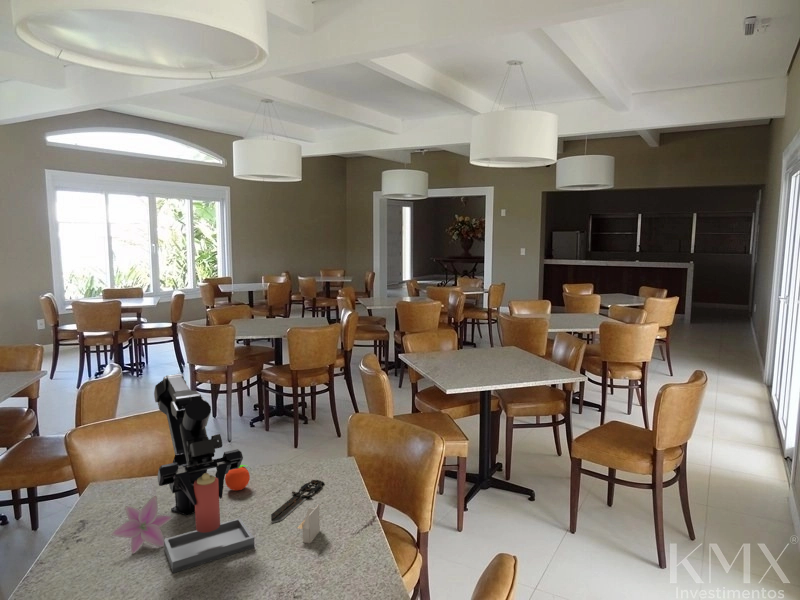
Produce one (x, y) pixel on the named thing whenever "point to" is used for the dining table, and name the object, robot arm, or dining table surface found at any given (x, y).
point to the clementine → (237, 478)
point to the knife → (293, 501)
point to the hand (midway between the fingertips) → (208, 501)
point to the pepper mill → (207, 503)
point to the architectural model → (310, 524)
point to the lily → (143, 525)
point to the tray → (207, 545)
